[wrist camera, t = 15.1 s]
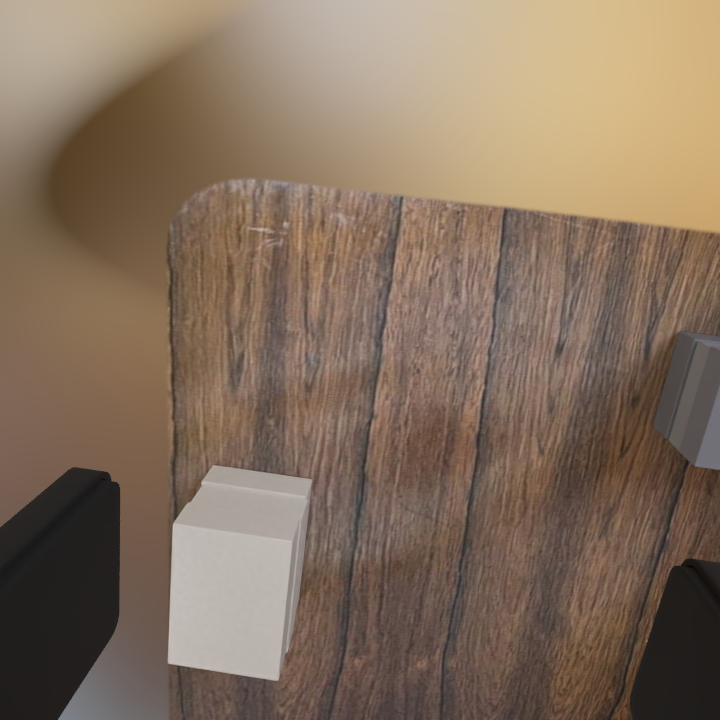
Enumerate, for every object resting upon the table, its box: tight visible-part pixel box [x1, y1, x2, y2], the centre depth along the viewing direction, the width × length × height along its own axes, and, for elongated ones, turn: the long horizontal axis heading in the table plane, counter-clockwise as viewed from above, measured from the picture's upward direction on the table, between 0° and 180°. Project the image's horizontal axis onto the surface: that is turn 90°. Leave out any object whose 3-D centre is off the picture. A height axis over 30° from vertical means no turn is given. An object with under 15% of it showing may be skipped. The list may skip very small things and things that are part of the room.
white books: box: [190, 465, 312, 653], centre depth 40 cm, size 10×7×5 cm
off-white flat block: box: [168, 502, 300, 681], centre depth 36 cm, size 10×7×2 cm
